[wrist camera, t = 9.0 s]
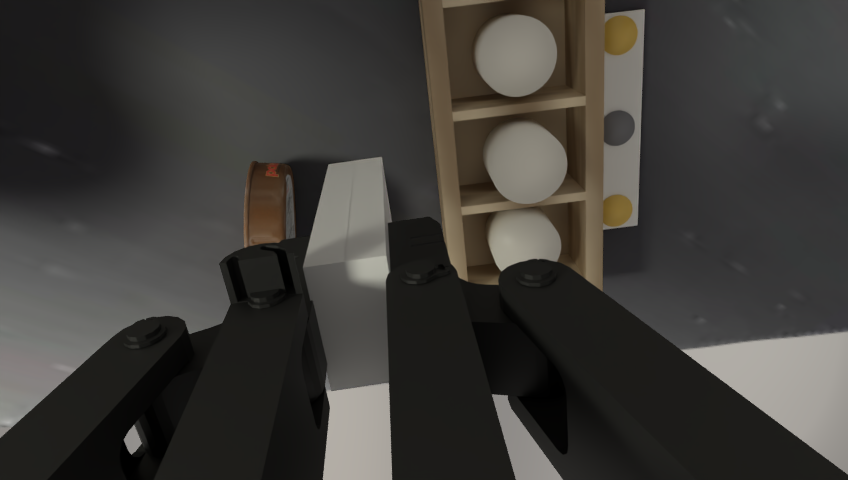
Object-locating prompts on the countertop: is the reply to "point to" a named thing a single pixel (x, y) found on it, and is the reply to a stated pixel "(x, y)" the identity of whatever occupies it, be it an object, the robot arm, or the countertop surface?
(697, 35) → the countertop surface
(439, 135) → the wooden compartment tray
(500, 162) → the button
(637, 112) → the card
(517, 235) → the button
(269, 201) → the tin
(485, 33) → the button
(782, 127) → the countertop surface
